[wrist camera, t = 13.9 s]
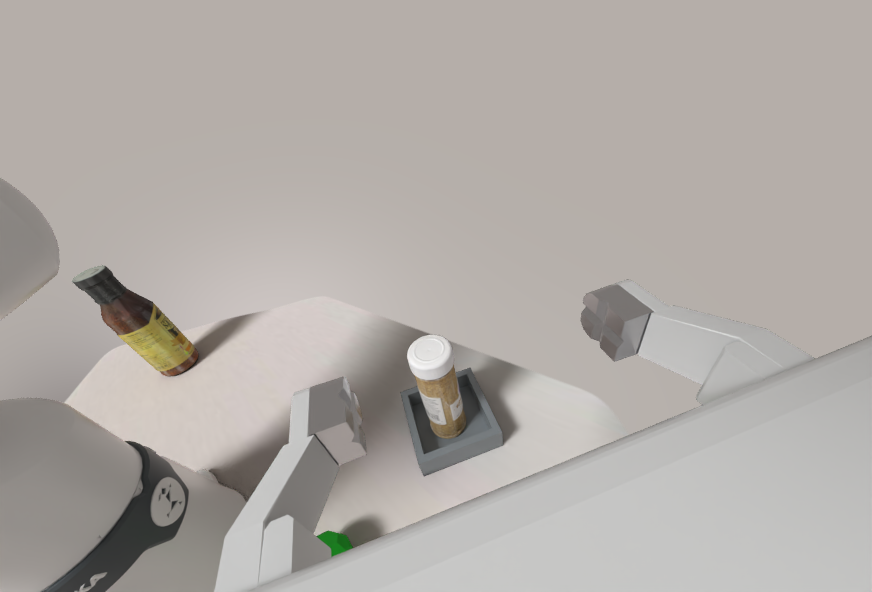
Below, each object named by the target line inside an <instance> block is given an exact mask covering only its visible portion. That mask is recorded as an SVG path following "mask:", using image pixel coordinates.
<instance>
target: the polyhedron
mask: <svg viewBox="0 0 872 592" xmlns="http://www.w3.org/2000/svg"><path fill="white" fill-rule="evenodd" d="M316 537H318V538H319V539H320V540H321V541H323V542H324V543H325V544H326V545H327V546H329V547H330V548H331V557H333V556H335V555H338V554H340V553H343V552H345V551H348V550H350V549H352V548H353V547H352V545H351V543H350V541H349V539H348V537H347V536H346V535H343V534H340V533H336V532H332V531H326V532H324V533H322V534H320V535H318V536H316Z"/></svg>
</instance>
